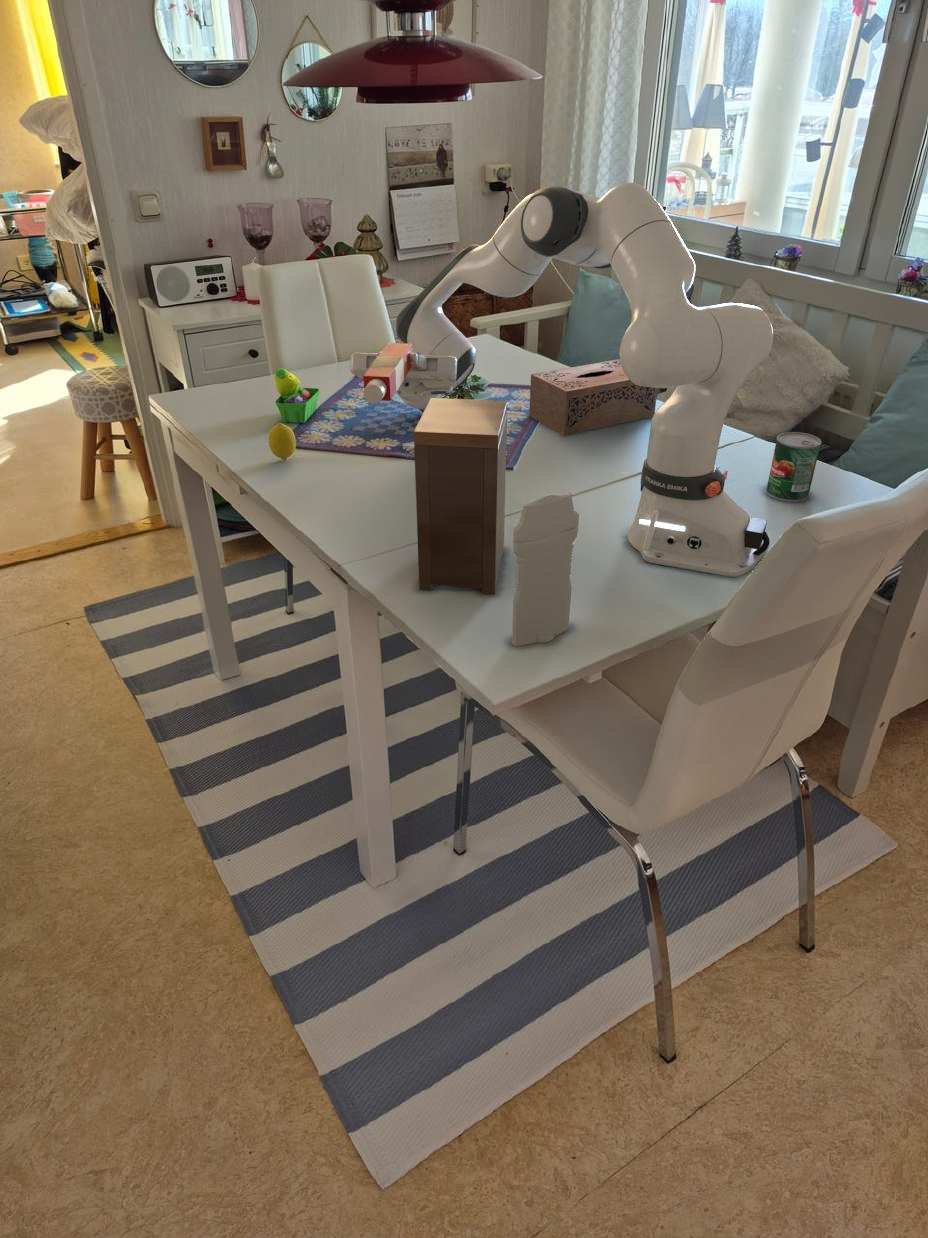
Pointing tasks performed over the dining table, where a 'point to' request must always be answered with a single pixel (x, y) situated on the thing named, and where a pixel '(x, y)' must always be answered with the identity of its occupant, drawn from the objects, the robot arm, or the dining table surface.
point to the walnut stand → (460, 492)
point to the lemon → (282, 441)
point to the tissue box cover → (588, 398)
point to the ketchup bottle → (387, 373)
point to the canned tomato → (793, 466)
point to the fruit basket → (294, 398)
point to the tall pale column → (543, 568)
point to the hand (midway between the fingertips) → (397, 356)
